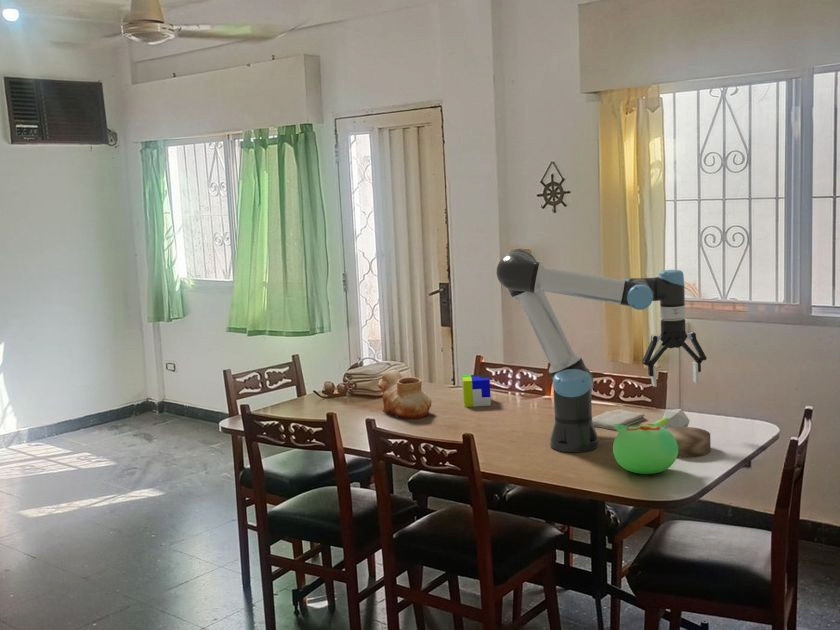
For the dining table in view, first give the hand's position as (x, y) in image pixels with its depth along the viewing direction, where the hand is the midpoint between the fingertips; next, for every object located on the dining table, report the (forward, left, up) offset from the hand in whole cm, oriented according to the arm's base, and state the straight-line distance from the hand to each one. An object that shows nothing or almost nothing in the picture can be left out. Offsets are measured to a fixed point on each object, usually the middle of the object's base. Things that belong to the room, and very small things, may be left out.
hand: (674, 384), depth 292 cm
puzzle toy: (-57, +59, -17) cm, 84 cm away
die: (0, 0, -17) cm, 17 cm away
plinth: (-3, -17, -16) cm, 24 cm away
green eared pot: (-20, -33, -17) cm, 42 cm away
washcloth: (-14, +18, -17) cm, 29 cm away
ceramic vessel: (-85, +54, -17) cm, 102 cm away
